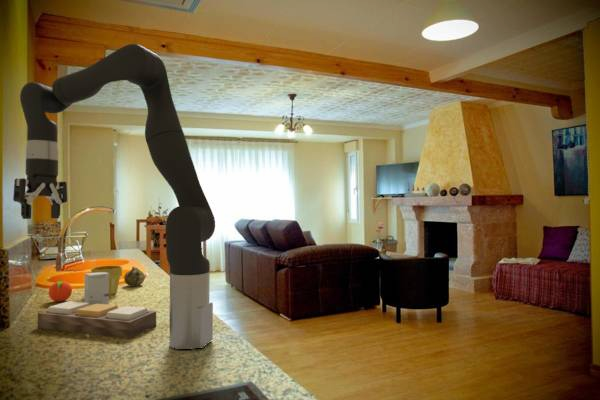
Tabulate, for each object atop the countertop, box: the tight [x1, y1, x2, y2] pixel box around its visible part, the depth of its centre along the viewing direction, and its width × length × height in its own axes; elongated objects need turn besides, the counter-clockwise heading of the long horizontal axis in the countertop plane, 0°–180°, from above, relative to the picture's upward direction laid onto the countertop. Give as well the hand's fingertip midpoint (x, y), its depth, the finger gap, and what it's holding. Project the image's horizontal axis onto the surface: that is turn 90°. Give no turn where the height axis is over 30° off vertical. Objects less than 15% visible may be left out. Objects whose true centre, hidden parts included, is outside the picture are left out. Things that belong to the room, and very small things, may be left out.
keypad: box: [37, 305, 157, 339], centre depth 114 cm, size 29×11×4 cm, turn 74°
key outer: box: [48, 300, 89, 314], centre depth 116 cm, size 7×7×2 cm
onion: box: [123, 266, 146, 287], centre depth 170 cm, size 8×8×8 cm
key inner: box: [107, 305, 148, 320], centre depth 111 cm, size 7×7×2 cm
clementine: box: [48, 280, 73, 303], centre depth 142 cm, size 8×7×7 cm
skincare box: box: [83, 272, 110, 305], centre depth 128 cm, size 6×4×12 cm
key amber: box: [77, 304, 119, 317], centre depth 114 cm, size 7×7×2 cm
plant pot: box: [90, 264, 123, 296], centre depth 155 cm, size 10×10×10 cm
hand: (41, 218), depth 113 cm, fingers open, 8 cm apart
